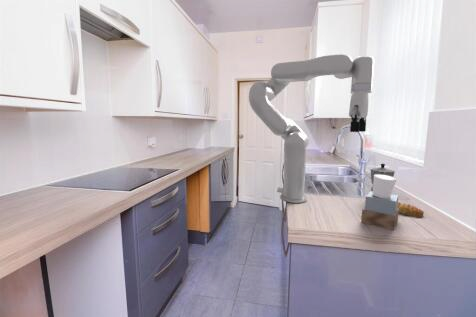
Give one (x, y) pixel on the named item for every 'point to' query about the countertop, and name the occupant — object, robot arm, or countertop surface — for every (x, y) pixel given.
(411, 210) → the pastry
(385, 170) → the coffeepot
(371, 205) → the grey top block
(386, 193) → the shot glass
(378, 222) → the walnut base block
